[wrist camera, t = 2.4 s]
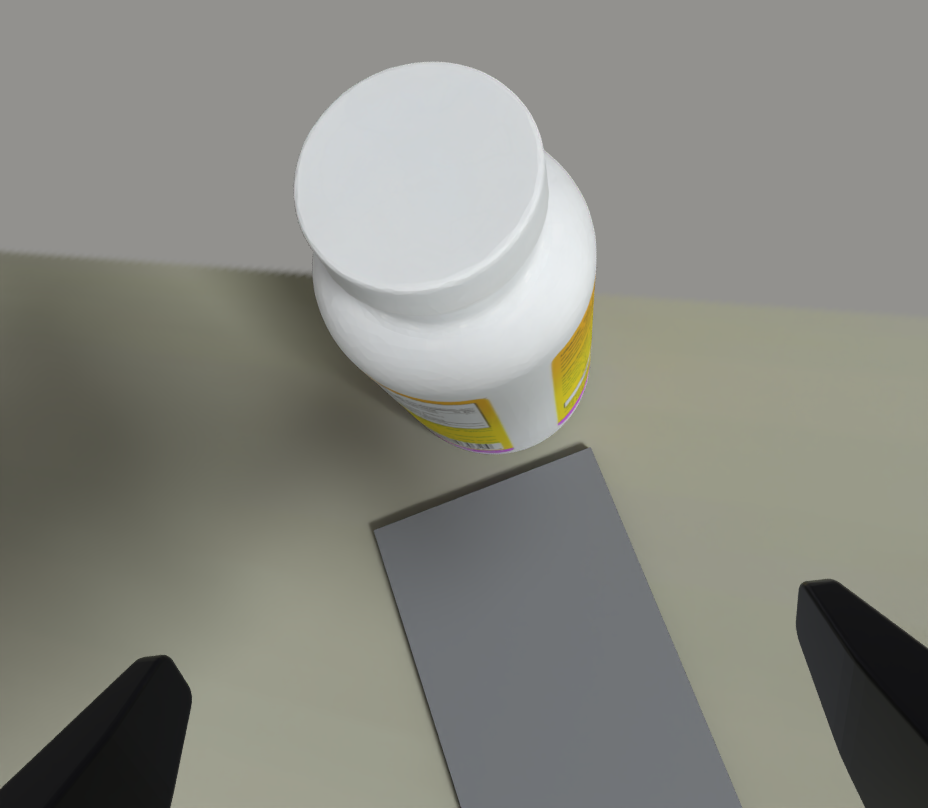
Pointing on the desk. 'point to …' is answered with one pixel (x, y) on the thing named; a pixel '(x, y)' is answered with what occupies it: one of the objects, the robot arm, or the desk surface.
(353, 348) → the supplement bottle
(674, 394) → the desk surface
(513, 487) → the mat
